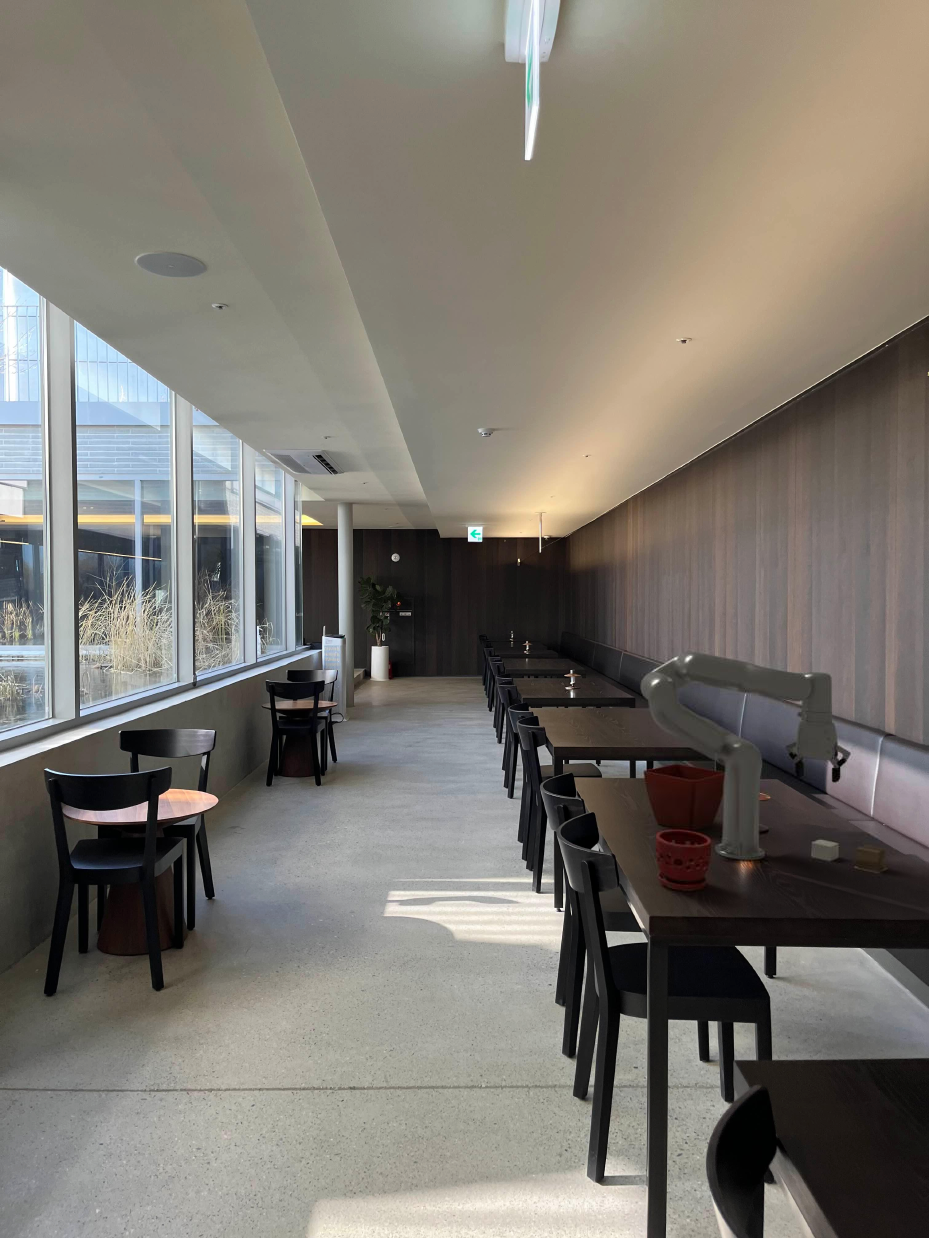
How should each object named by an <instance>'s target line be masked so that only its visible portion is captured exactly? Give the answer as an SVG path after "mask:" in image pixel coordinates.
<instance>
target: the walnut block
mask: <svg viewBox="0 0 929 1238" xmlns="http://www.w3.org/2000/svg"><path fill="white" fill-rule="evenodd" d="M856 866H857V868H856V869H858V868H861V869H860V870H862V869H865V870H864V871H866V870H870V871H869V872H871V871H874V872H873V873H875V872H879V871H881V870H883V869H885V868H886V848H884V847H883V848H882V847H878V846H872V845H870V844H869V845H868V844H863V845H861V846H858V847H857V849H856Z"/></svg>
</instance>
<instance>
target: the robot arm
mask: <svg viewBox="0 0 929 1238" xmlns="http://www.w3.org/2000/svg"><path fill="white" fill-rule="evenodd" d="M689 683H693V684H698V685H702V686H709V687H714V688H720V689H723V690H730V691H734V692H739V693H744V694H755V695H760V696H765V697H770V698H775V699H780V700H786V701H791V702H796V703H798V702H801V704H802V705H801V711H797V715H796V716H797V717H800V718H801V720H800V721H799V722H798V725H797V732H796V740H795V741H794V742H792V743H789V744H787V745H785V749H786V751H787V754H788V756H789V758H791V759H792V761H793V763H794V765H795V766H794V769H795V770H794V771H795V772H794V773H795V774H796V778H802V777H804V775H805V771H804V770H805V768H804V767H805V766H804V765H805V764H804V761H803V760H804V759H811V760H818V761H829V762H830V764H831V765H832V766H833V767H831V782H832V783H835V784H836V783H838V782H840V779H841V768H842V767H843V765H844V764H846V763H847V762H848V759H849V758H850V756H851V754H852V753H851V752H850V751H849V750H847V749H846V748H844V747H843V746H841V745H839V744H838V743H839V742H838V735H837V729H836V725H835V722H833V711H832V708H833V707H832V706H833V703H832V702H833V699H832V698H833V697H832V695H833V693H832V692H833V690H832V689H833V686H832V685H833V683H832V676H831V675H830V673H827V672H814V671H813V672H811V671H810V672H806V673H802V672H800V673H799V672H792V671H783V670H781V669H775V668H770V667H765V666H761V665H757V664H754V663H751V662H747V661H742V660H739V659H732V658H727V657H722V656H718V655H717V656H716V655H712V654H707V653H701V652H696V651H685V652H682V653H680V654H679V655H676V656H675V657H673V658H672V659H670V660H668V661H666V662H665V663H664V664H662V665H660V666H658V667H657V668H655V669H653V670H651V671H650V672H649V673H647V674H646V675H645V676H644V677H643V678H642V680H641V682H640V691H641V695H642V696H643V697H644V698H645V699H646V700H647V701H648V708H649V713H650V715H651V718H652V719H653V720H654V722H655V723H656V725H658V726H659V727H660V728H661V729H662V730H663V731H665V732H667V733H668V734H669V735H672V736H673V737H675V738H677V739H678V740H680V741H681V742H683V743H684V744H686V745H687V746H688V747H690V748H691V749H693V750H694V751H696V752H698V753H700V754H702V755H704V756H705V757H707V758H709V759H711V760H712V761H714V762H716V763H718V764H720V765H721V766H722V767H724V768H725V771H724V772H725V775H724V782H723V796H722V837H721V843H718V844H716V845H715V847H714V849H715V851H716V852H717V854H719V855H720V856H723V857H725V858H729V859H734V860H740V861H741V860H742V861H755V860H760V859H761V860H762V859H763V858H765V856H766V855H765V850H764V849H762V848H761V847H760V846H759V844H760V839H759V838H760V782H761V775H762V769H763V757H762V755H761V751H760V750H759V748H758V746H756V745H755V744H754V743H752V742H751V741H749V740H746V739H745V738H743V737H741V736H739V735H737V734H734V733H733V732H731V731H729V730H727V729H725V728H724V727H722V726H721V725H719V724H717V723H716V722H714V721H713V720H711V719H709V718H706V717H703V716H700V715H699V714H698V713H695V712H694V711H692V710H691V709H689V708H687V707H686V706H684V705H683V704H681V702H680V701H679V697H678V690H680V689H681V688H683V687H684V686H686V685H687V684H689ZM794 748H795V751H794ZM839 754H841V755H842V757H841V759H839V758H838V755H839Z"/></svg>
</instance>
